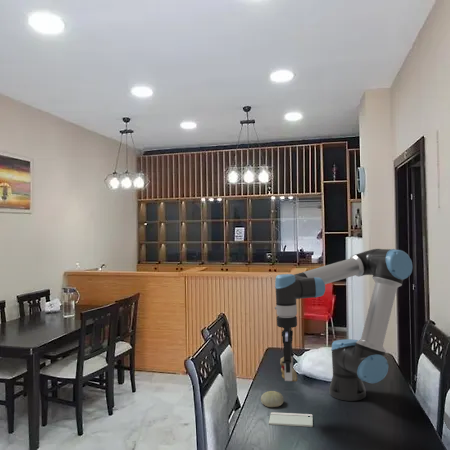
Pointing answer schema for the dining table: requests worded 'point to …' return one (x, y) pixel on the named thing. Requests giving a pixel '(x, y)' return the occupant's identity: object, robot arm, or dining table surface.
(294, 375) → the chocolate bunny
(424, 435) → the dining table surface
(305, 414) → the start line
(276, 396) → the sea urchin shell
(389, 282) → the robot arm
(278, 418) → the mat
